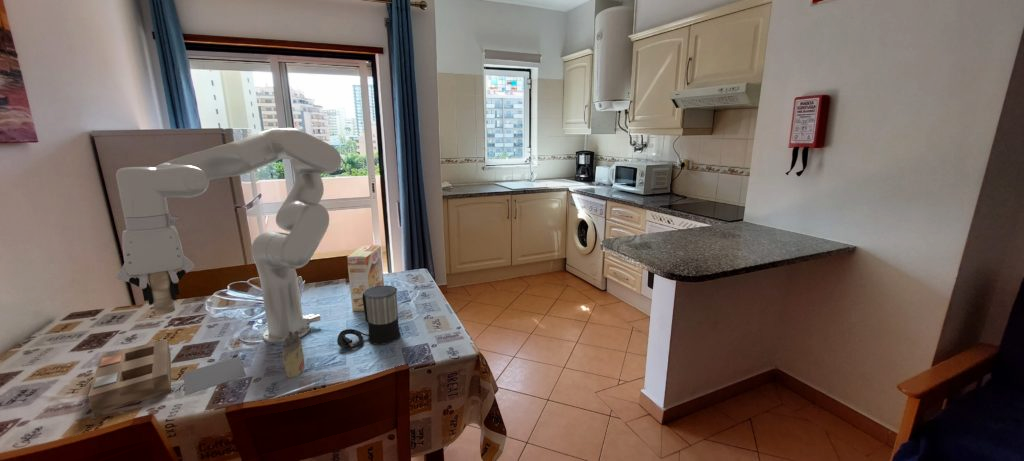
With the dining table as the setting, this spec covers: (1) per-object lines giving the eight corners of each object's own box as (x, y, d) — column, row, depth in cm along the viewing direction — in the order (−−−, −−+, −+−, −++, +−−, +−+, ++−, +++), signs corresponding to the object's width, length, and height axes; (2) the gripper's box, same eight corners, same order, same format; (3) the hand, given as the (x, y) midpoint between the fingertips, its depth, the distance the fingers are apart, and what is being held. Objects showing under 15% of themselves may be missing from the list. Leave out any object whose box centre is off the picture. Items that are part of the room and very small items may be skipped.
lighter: (299, 377, 101) (294, 341, 99) (282, 380, 100) (277, 343, 98) (306, 362, 108) (301, 328, 106) (290, 364, 107) (285, 329, 105)
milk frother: (407, 333, 123) (403, 287, 120) (369, 359, 109) (363, 307, 106) (371, 325, 129) (367, 281, 126) (331, 348, 115) (324, 299, 112)
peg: (174, 307, 98) (166, 259, 95) (175, 311, 95) (166, 262, 92) (155, 311, 95) (145, 261, 93) (155, 316, 93) (145, 265, 90)
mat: (239, 357, 111) (239, 356, 111) (246, 377, 102) (246, 375, 102) (183, 374, 103) (183, 372, 103) (185, 396, 94) (185, 395, 94)
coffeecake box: (372, 311, 139) (366, 256, 135) (351, 311, 139) (345, 256, 135) (385, 294, 154) (381, 244, 149) (367, 294, 154) (362, 244, 150)
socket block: (170, 355, 112) (167, 337, 111) (171, 392, 96) (166, 372, 95) (105, 372, 104) (100, 354, 103) (93, 416, 88) (87, 395, 87)
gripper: (193, 216, 99) (205, 288, 103) (97, 225, 88) (114, 305, 92) (196, 220, 93) (208, 296, 97) (94, 230, 83) (112, 315, 86)
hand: (162, 300), depth 95 cm, fingers closed on peg, 3 cm apart
